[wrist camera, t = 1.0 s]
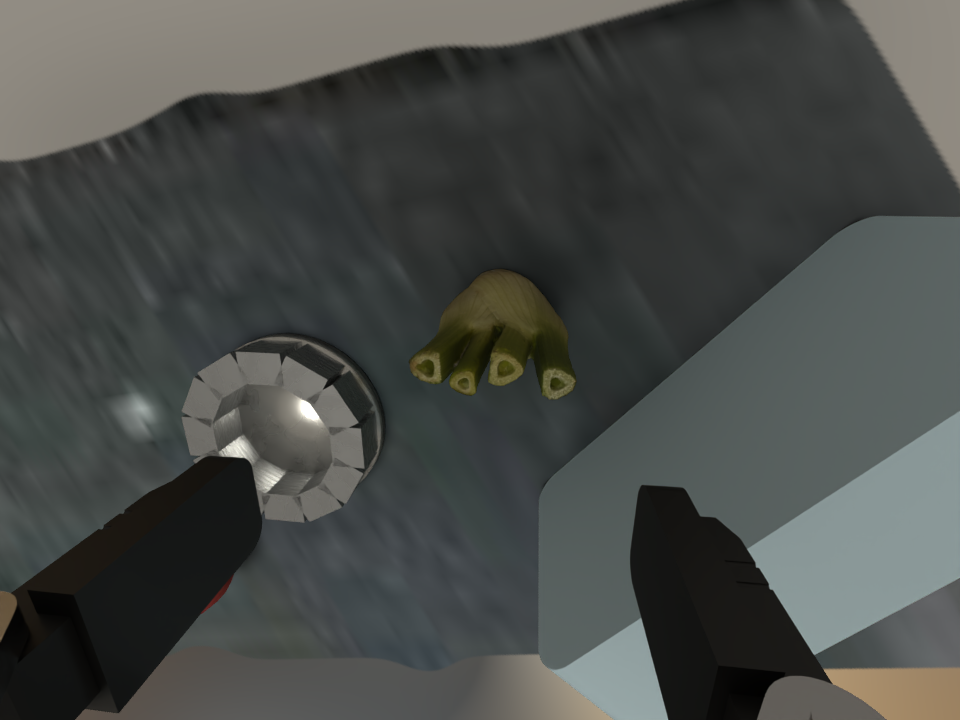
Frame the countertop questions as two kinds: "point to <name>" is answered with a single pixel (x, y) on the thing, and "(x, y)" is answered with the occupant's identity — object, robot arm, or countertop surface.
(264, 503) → the white low ring
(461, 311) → the fennel bulb
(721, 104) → the countertop surface
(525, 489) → the countertop surface
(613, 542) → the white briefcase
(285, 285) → the countertop surface
